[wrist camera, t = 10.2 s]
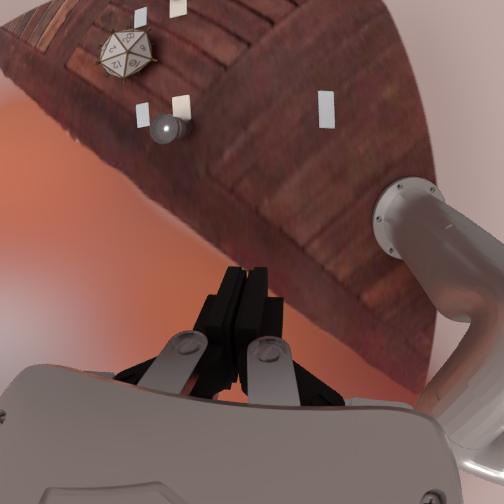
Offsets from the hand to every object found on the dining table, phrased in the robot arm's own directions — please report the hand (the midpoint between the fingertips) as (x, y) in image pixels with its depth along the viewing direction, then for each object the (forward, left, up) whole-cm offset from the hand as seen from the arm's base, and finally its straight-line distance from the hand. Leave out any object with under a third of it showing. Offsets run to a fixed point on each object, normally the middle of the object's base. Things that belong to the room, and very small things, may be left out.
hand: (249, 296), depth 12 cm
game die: (+18, -20, -27) cm, 38 cm away
